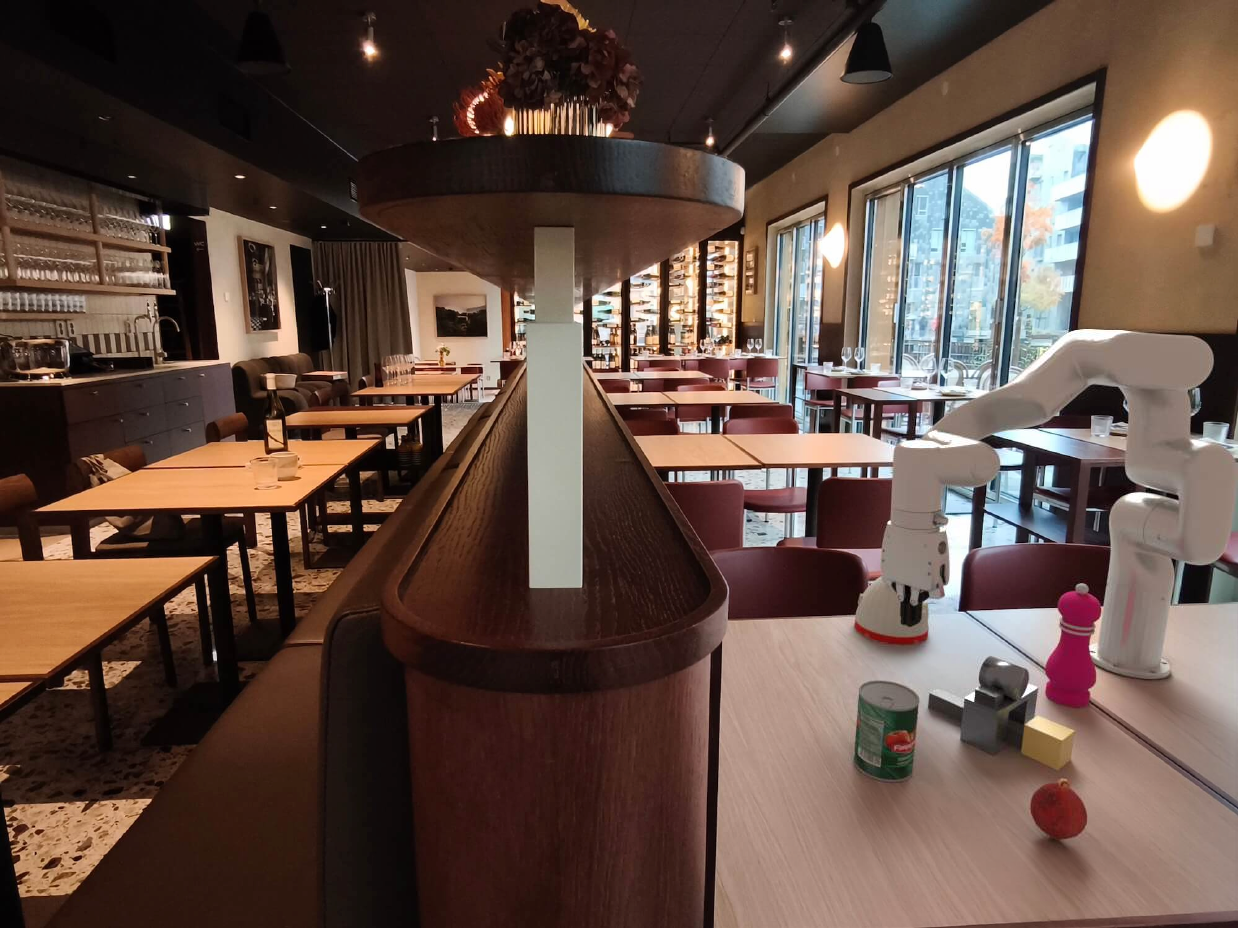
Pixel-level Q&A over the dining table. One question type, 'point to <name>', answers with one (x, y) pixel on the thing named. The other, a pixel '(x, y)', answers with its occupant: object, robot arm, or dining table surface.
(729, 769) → the dining table surface
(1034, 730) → the yellow tipped gray bar
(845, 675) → the dining table surface
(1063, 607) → the pepper mill
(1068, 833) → the red rounded piece
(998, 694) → the block
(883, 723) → the canned tomato
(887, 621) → the kitchen timer
